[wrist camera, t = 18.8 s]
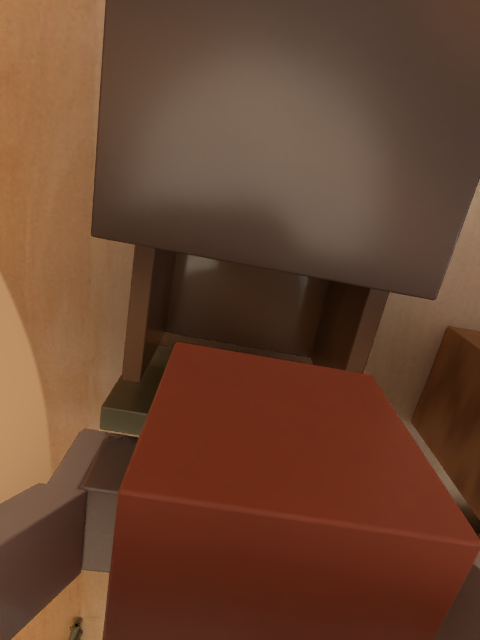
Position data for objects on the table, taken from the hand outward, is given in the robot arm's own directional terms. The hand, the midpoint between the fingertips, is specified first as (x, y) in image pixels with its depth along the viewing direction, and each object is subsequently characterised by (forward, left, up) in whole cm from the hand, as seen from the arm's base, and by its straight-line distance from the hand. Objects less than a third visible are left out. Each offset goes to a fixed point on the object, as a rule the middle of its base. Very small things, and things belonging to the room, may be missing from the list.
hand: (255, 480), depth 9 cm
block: (0, 0, -1) cm, 1 cm away
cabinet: (+10, 0, -16) cm, 19 cm away
